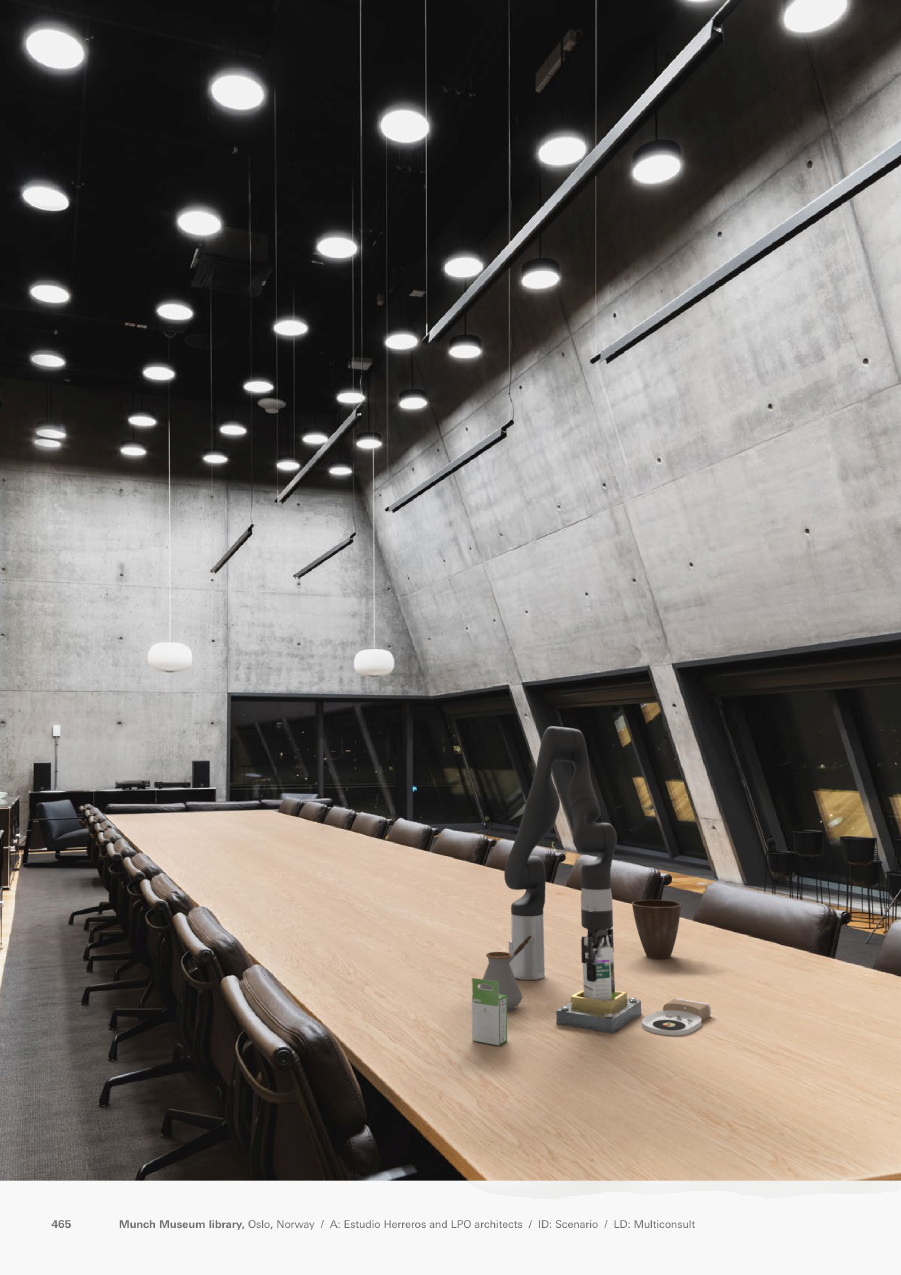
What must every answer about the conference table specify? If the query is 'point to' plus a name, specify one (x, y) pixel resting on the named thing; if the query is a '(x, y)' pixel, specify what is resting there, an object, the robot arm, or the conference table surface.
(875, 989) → the conference table surface
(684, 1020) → the record player
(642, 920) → the plant pot
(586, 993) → the syrup box
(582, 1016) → the square socket fixture
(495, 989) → the ink box
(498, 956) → the coffee pot
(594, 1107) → the conference table surface
